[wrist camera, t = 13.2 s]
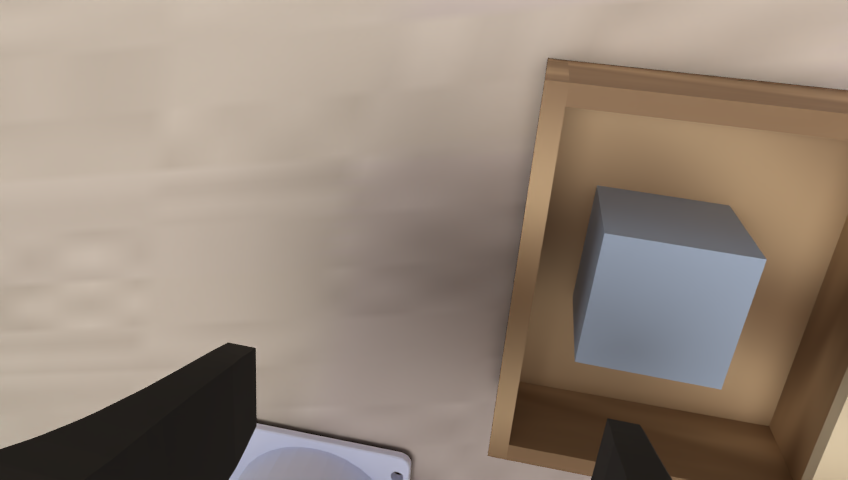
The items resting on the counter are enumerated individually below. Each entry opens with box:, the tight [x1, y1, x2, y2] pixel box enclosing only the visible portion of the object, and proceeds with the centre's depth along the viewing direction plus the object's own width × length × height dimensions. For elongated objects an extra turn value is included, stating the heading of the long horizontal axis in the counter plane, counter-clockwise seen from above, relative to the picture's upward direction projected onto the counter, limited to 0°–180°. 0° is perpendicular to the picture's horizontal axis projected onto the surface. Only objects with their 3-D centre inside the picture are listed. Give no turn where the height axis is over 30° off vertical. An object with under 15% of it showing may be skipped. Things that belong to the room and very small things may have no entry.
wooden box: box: [488, 58, 848, 480], centre depth 20 cm, size 12×10×4 cm
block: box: [573, 185, 767, 389], centre depth 19 cm, size 4×4×4 cm
